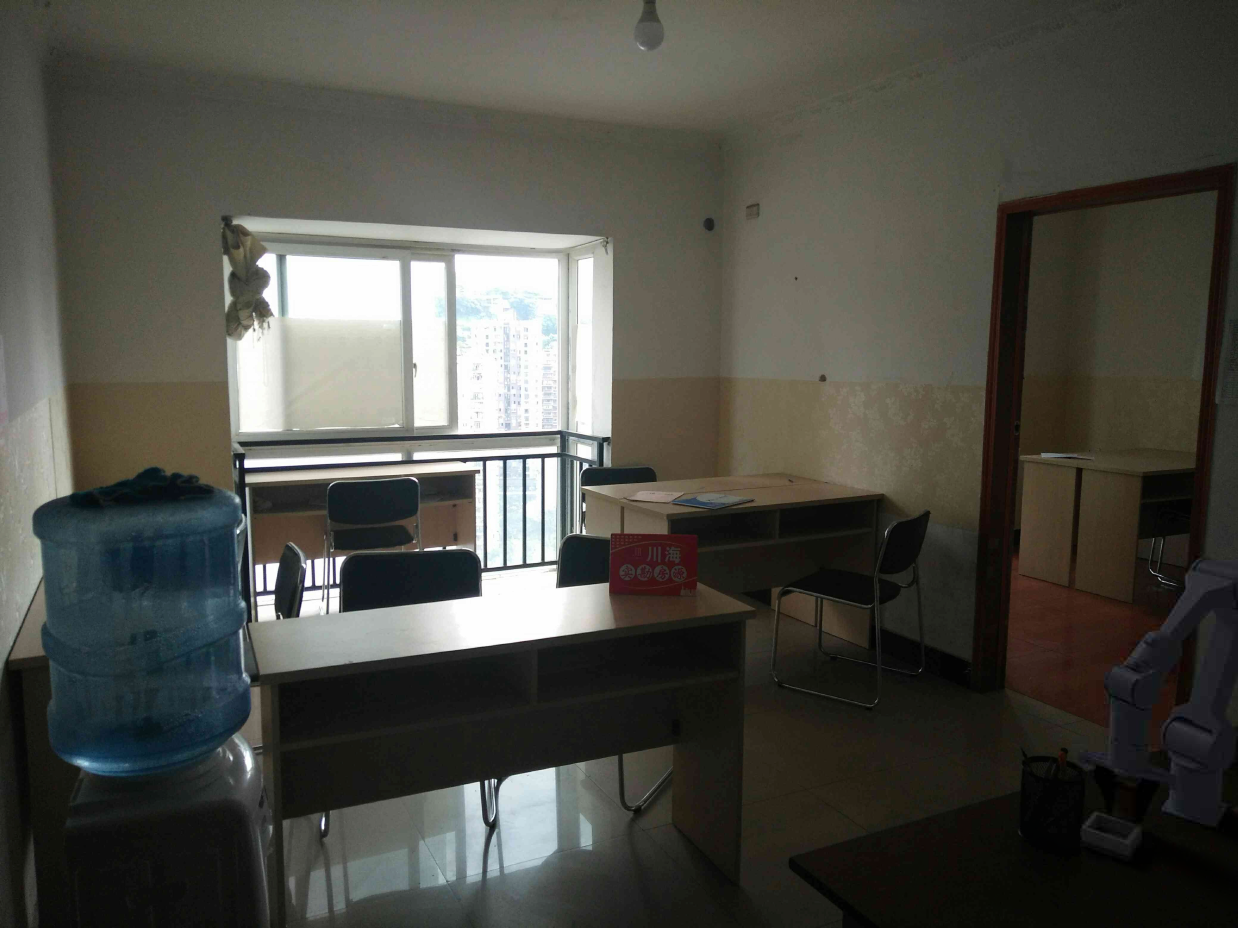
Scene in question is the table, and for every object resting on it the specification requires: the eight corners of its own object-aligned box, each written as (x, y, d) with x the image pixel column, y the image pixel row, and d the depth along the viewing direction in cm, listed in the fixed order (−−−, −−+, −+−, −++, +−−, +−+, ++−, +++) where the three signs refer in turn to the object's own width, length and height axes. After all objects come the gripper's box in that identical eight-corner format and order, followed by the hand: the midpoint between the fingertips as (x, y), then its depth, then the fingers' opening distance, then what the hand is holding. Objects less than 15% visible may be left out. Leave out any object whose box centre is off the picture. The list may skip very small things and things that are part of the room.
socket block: (1094, 827, 145) (1094, 811, 145) (1141, 843, 140) (1142, 826, 140) (1080, 844, 140) (1080, 827, 140) (1128, 861, 135) (1129, 843, 135)
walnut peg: (1115, 817, 148) (1117, 778, 147) (1141, 826, 145) (1143, 786, 144) (1107, 826, 145) (1109, 787, 144) (1134, 835, 142) (1136, 795, 142)
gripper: (1073, 733, 146) (1070, 809, 147) (1173, 760, 135) (1168, 841, 137) (1087, 720, 151) (1084, 794, 152) (1184, 745, 140) (1179, 824, 142)
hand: (1125, 815), depth 145 cm, fingers closed on walnut peg, 4 cm apart
